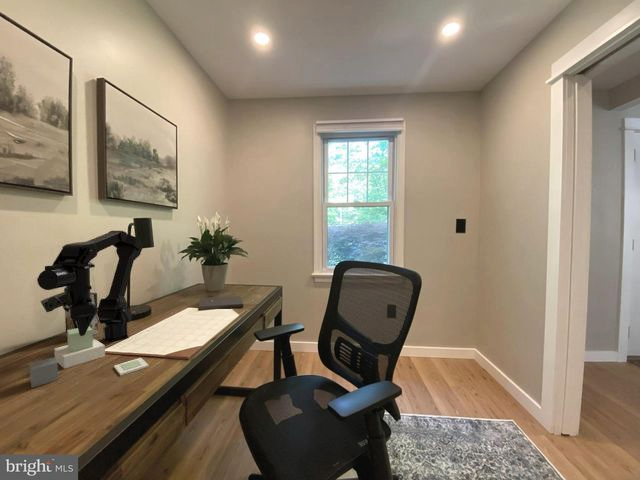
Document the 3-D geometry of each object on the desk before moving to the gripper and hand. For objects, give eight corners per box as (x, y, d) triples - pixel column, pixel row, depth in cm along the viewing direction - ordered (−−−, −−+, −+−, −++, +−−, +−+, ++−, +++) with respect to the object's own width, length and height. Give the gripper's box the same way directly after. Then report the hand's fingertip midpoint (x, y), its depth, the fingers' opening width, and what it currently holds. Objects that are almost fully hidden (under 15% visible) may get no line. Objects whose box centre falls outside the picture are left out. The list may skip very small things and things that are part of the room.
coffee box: (98, 333, 110) (98, 292, 110) (80, 339, 104) (79, 296, 104) (83, 330, 113) (82, 291, 113) (64, 336, 107) (63, 294, 107)
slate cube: (55, 374, 79) (55, 356, 79) (57, 380, 76) (57, 362, 76) (30, 381, 76) (29, 363, 76) (31, 388, 72) (31, 369, 72)
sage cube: (89, 342, 93) (89, 325, 93) (92, 346, 89) (92, 329, 89) (67, 347, 89) (67, 330, 89) (69, 352, 85) (69, 334, 85)
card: (140, 359, 88) (140, 357, 88) (148, 366, 84) (148, 364, 84) (114, 367, 83) (114, 365, 83) (120, 375, 79) (120, 373, 79)
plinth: (93, 349, 96) (93, 338, 96) (105, 357, 91) (104, 345, 90) (54, 360, 88) (54, 348, 88) (64, 370, 82) (64, 356, 82)
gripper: (39, 283, 88) (41, 331, 89) (45, 291, 76) (47, 348, 77) (85, 278, 97) (86, 323, 97) (97, 286, 84) (98, 336, 85)
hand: (79, 332), depth 89 cm, fingers open, 9 cm apart
